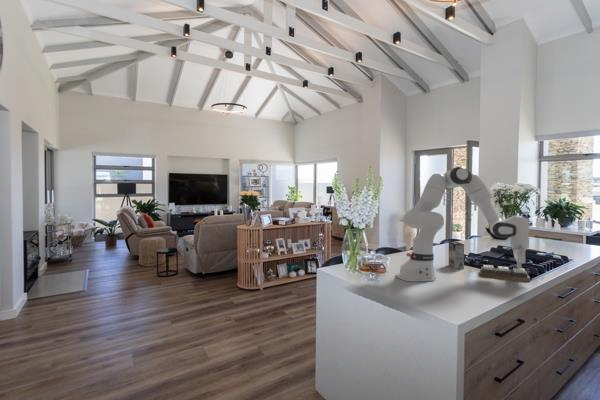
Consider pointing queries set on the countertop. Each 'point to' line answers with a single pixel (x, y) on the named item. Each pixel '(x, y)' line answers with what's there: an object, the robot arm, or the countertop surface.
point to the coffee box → (456, 255)
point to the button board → (504, 274)
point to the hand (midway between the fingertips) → (519, 267)
